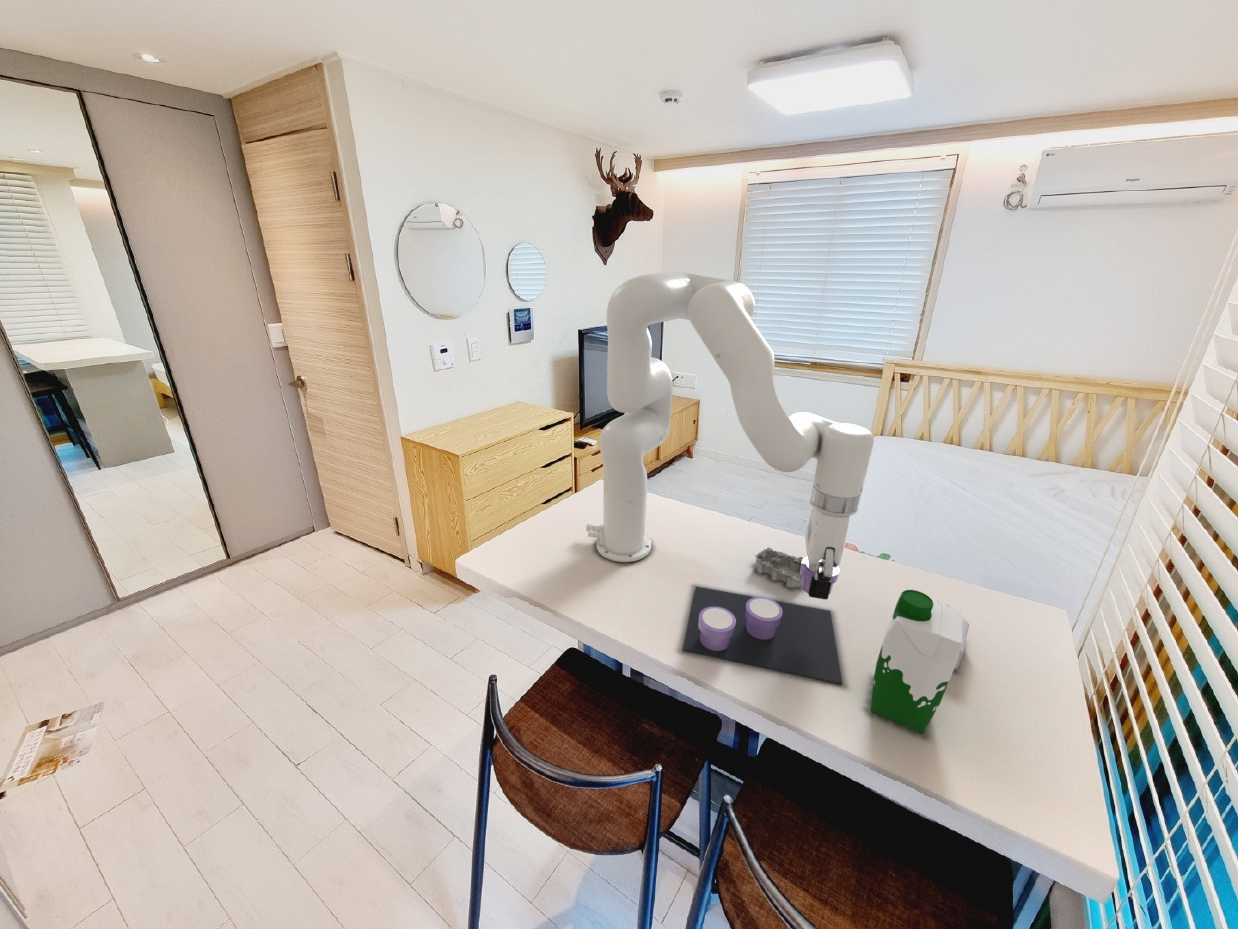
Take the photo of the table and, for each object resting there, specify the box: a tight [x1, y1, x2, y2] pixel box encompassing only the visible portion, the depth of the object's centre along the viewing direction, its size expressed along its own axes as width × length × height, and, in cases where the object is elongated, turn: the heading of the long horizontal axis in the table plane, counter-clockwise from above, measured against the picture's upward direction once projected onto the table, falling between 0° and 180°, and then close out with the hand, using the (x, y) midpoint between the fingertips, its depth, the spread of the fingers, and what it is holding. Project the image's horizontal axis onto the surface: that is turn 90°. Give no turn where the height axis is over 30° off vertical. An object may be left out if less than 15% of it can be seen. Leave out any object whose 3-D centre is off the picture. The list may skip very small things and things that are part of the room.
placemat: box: [682, 586, 843, 685], centre depth 92 cm, size 26×18×1 cm
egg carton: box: [754, 546, 804, 589], centre depth 107 cm, size 11×8×4 cm
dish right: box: [800, 556, 841, 596], centre depth 90 cm, size 6×6×5 cm
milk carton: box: [870, 589, 963, 735], centre depth 74 cm, size 9×9×20 cm
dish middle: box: [745, 596, 783, 640], centre depth 91 cm, size 6×6×5 cm
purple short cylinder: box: [698, 607, 736, 651], centre depth 89 cm, size 6×6×5 cm
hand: (816, 584), depth 91 cm, fingers closed on dish right, 6 cm apart
